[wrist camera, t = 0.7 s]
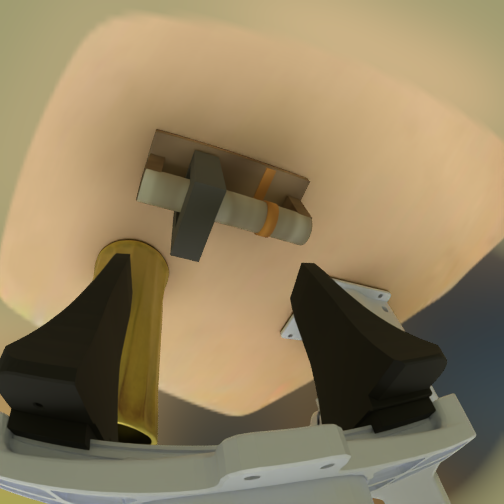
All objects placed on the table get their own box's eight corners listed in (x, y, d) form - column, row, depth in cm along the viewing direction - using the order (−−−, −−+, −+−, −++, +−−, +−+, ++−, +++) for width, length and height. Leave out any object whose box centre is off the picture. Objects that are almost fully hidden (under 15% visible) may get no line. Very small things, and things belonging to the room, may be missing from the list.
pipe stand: (307, 178, 23) (330, 206, 19) (278, 235, 25) (294, 270, 21) (156, 129, 19) (147, 148, 15) (137, 196, 21) (126, 229, 18)
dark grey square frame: (219, 157, 20) (226, 190, 15) (196, 216, 22) (198, 261, 17) (194, 149, 19) (195, 181, 15) (174, 210, 21) (170, 255, 17)
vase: (94, 291, 25) (61, 447, 14) (98, 231, 22) (43, 401, 11) (162, 304, 27) (160, 462, 16) (175, 246, 24) (174, 424, 13)
